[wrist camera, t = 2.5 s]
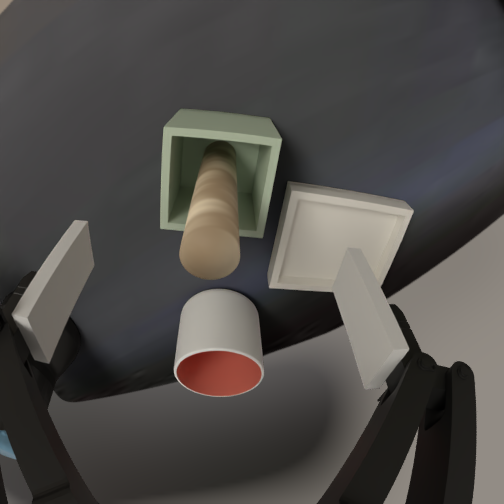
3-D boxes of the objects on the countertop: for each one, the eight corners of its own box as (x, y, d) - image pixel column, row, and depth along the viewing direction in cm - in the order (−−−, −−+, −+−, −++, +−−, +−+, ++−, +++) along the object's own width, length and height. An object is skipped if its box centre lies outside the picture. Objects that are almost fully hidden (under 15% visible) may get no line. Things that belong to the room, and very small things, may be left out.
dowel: (202, 169, 30) (179, 277, 16) (205, 139, 28) (180, 227, 15) (233, 172, 30) (236, 281, 17) (237, 142, 28) (243, 233, 15)
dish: (267, 274, 38) (269, 287, 36) (287, 180, 32) (291, 190, 30) (370, 282, 40) (377, 294, 38) (404, 200, 33) (413, 210, 31)
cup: (187, 276, 38) (178, 341, 30) (267, 291, 40) (276, 355, 32) (178, 330, 43) (170, 390, 35) (246, 341, 45) (250, 400, 37)
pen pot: (175, 188, 31) (160, 228, 25) (181, 108, 27) (163, 126, 20) (255, 196, 32) (262, 238, 26) (269, 117, 28) (282, 139, 21)
